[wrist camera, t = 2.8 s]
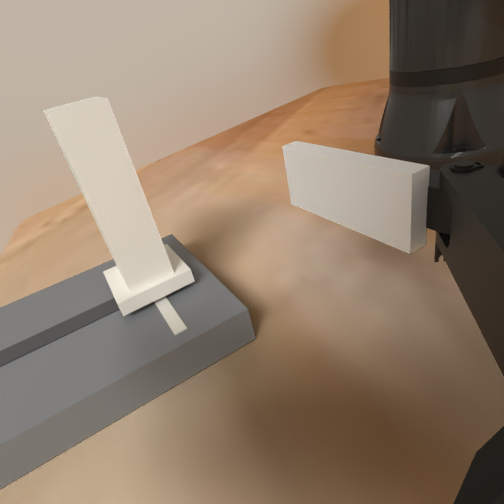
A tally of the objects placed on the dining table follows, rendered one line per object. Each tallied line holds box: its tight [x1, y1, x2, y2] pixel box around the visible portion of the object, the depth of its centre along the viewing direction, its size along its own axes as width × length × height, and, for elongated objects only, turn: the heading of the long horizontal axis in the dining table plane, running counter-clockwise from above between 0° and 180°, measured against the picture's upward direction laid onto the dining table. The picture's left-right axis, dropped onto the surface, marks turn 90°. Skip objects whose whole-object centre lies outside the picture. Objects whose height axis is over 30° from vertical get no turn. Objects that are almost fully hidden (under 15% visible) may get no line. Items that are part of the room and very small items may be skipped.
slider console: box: [0, 234, 256, 489], centre depth 24 cm, size 24×14×3 cm, turn 121°
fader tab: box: [43, 97, 195, 316], centre depth 23 cm, size 5×5×12 cm
